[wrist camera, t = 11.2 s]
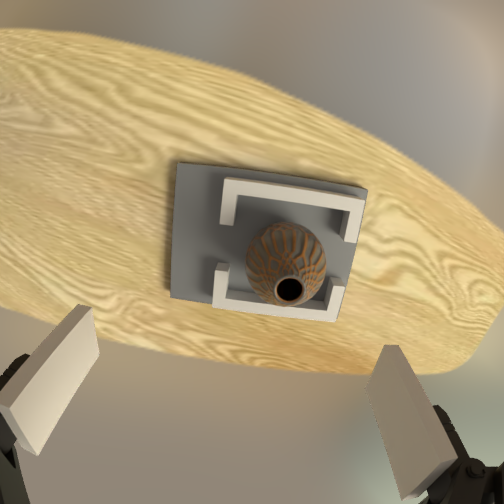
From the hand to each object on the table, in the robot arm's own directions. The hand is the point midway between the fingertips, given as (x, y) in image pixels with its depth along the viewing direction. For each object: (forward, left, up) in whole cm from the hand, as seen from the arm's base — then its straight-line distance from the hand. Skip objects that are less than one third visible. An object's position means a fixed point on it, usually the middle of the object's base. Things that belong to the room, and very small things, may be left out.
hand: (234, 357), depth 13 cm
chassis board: (+1, -1, -19) cm, 19 cm away
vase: (+3, -1, -18) cm, 18 cm away
